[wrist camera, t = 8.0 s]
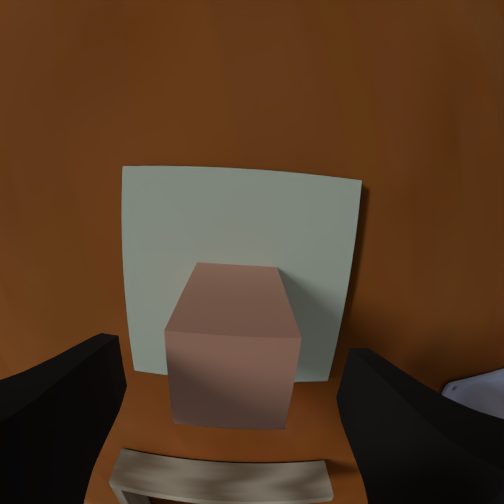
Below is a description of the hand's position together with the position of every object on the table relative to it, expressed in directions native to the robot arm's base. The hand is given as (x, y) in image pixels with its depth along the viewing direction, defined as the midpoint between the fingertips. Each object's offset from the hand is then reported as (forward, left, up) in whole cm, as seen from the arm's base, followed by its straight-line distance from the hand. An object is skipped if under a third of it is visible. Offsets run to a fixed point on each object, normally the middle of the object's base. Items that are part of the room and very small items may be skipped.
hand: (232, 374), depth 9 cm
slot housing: (0, +22, -8) cm, 23 cm away
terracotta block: (0, +1, -7) cm, 7 cm away
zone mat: (0, 0, -8) cm, 8 cm away
